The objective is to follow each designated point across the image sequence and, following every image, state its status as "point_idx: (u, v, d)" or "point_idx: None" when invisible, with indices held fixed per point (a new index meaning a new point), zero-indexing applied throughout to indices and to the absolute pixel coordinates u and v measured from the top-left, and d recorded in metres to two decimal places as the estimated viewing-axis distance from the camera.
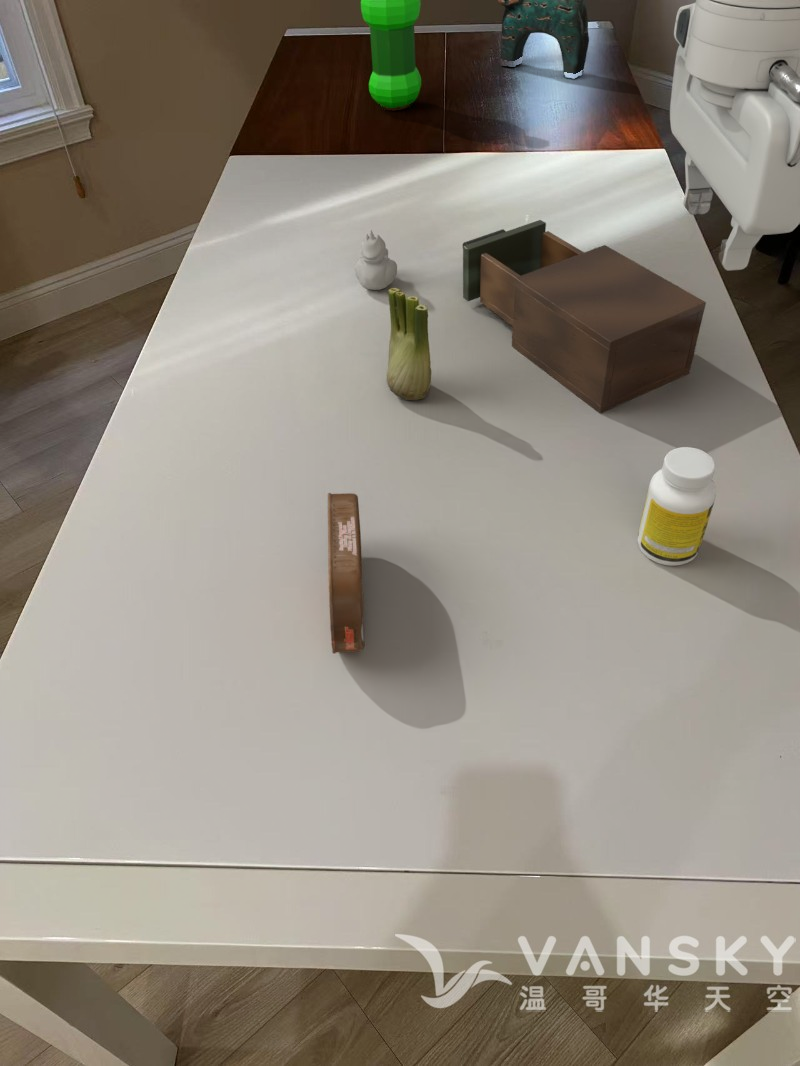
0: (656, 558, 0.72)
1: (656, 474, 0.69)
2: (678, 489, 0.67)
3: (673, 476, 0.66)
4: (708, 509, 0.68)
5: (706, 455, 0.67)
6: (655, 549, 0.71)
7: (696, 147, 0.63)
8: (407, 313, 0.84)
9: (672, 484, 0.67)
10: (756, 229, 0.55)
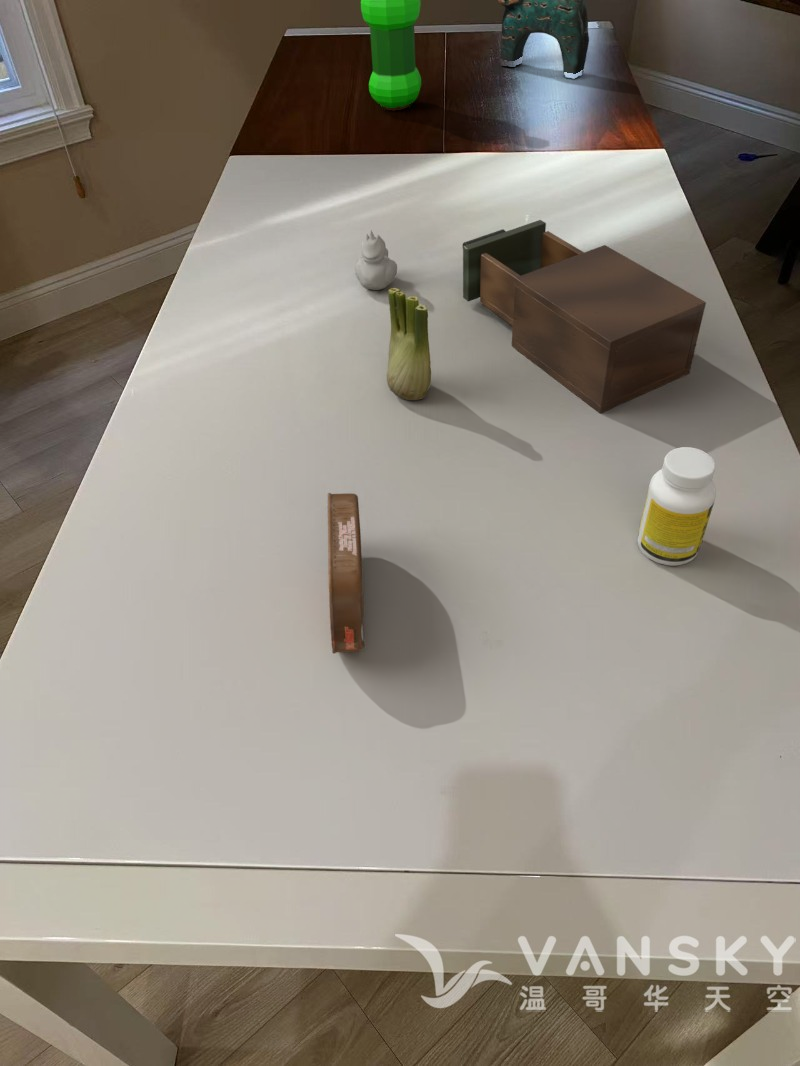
0: (656, 558, 0.72)
1: (656, 474, 0.69)
2: (678, 489, 0.67)
3: (674, 476, 0.66)
4: (708, 509, 0.68)
5: (706, 455, 0.67)
6: (655, 549, 0.71)
7: None
8: (407, 313, 0.84)
9: (672, 484, 0.67)
10: None
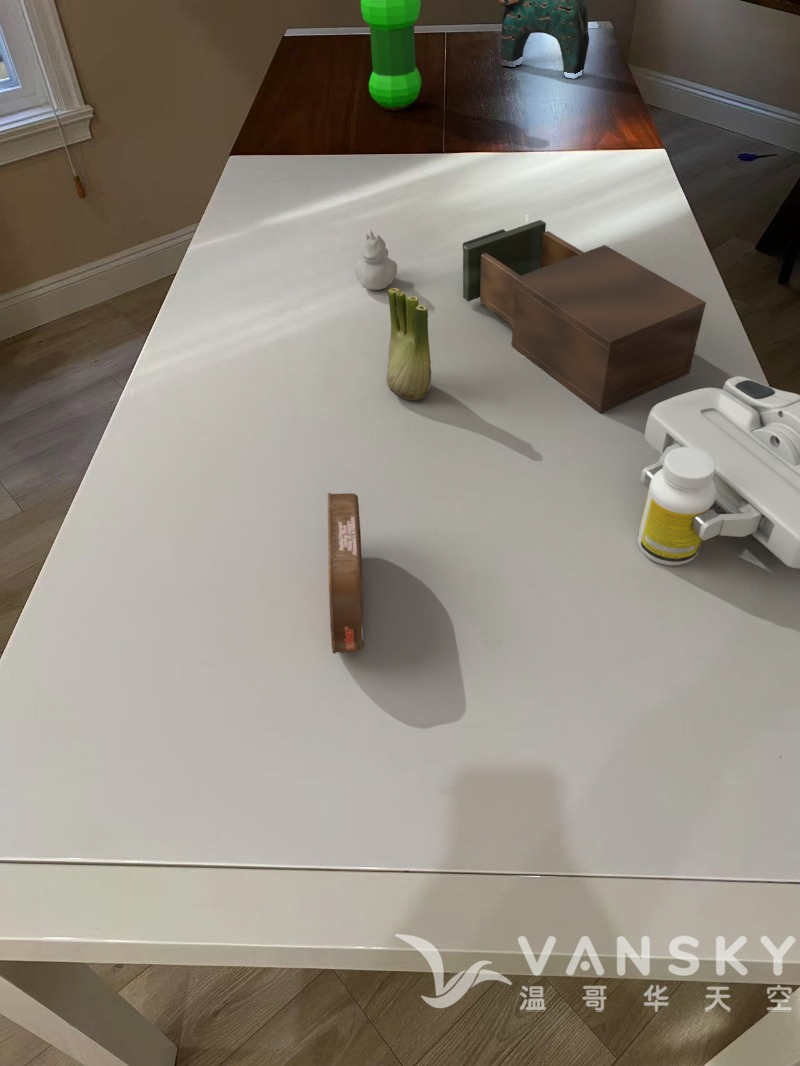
0: (656, 558, 0.72)
1: (656, 474, 0.69)
2: (678, 489, 0.67)
3: (674, 476, 0.66)
4: (708, 509, 0.68)
5: (706, 455, 0.67)
6: (655, 548, 0.71)
7: (713, 448, 0.72)
8: (407, 313, 0.84)
9: (672, 484, 0.67)
10: None
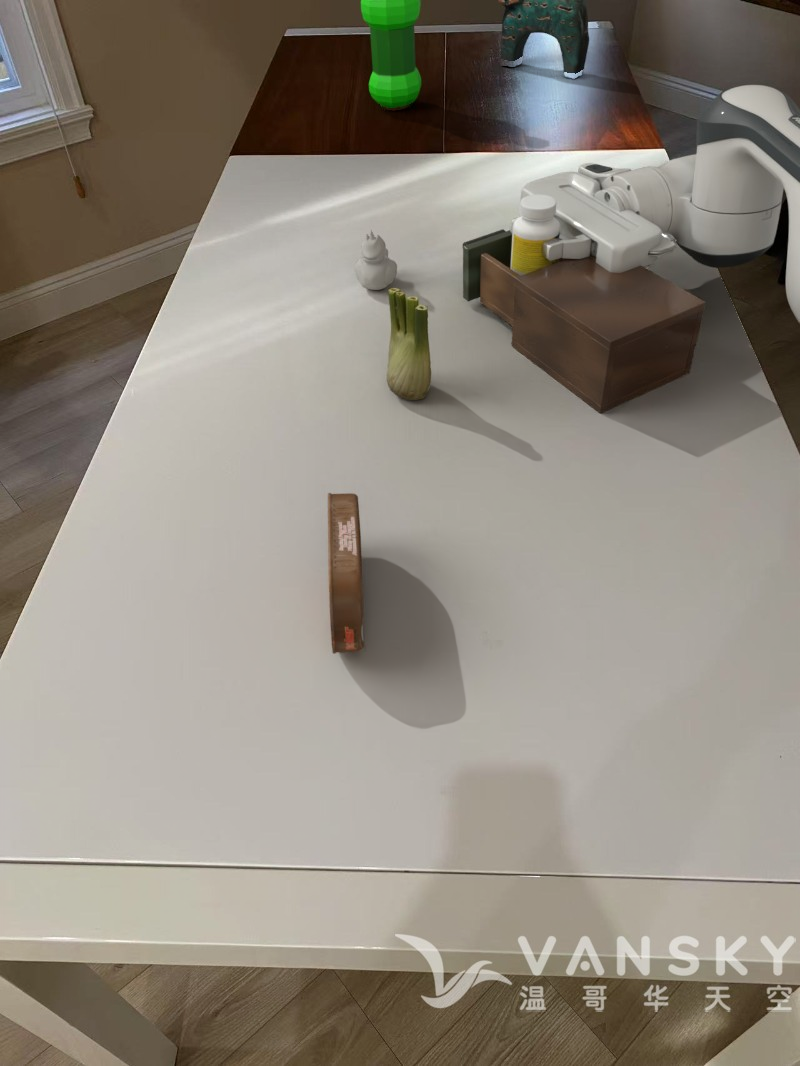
0: None
1: (518, 217, 0.95)
2: (530, 221, 0.92)
3: (526, 209, 0.91)
4: (553, 238, 0.93)
5: (551, 198, 0.93)
6: None
7: (563, 204, 0.97)
8: (407, 313, 0.84)
9: (525, 217, 0.92)
10: (620, 252, 0.89)
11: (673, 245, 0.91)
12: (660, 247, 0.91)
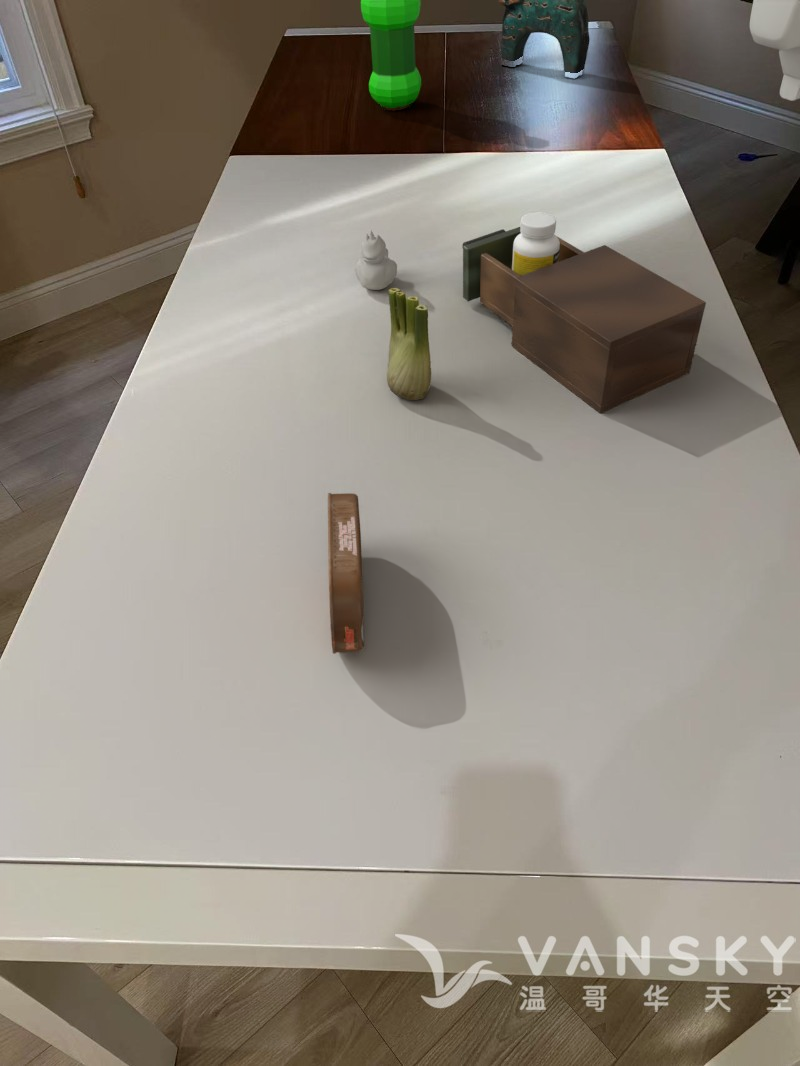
0: None
1: None
2: (530, 238, 0.94)
3: (526, 227, 0.93)
4: (553, 256, 0.95)
5: (551, 216, 0.94)
6: None
7: None
8: (407, 313, 0.84)
9: (525, 235, 0.94)
10: None
11: None
12: None
